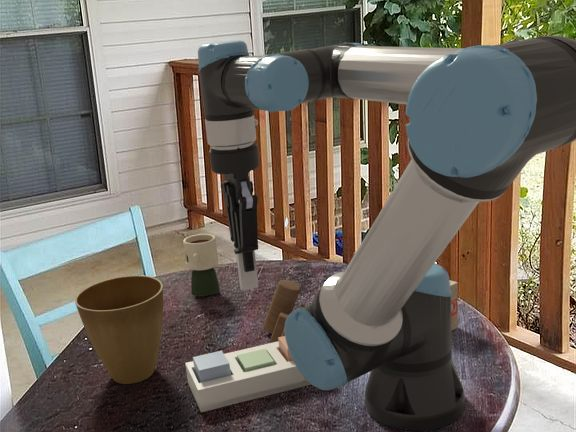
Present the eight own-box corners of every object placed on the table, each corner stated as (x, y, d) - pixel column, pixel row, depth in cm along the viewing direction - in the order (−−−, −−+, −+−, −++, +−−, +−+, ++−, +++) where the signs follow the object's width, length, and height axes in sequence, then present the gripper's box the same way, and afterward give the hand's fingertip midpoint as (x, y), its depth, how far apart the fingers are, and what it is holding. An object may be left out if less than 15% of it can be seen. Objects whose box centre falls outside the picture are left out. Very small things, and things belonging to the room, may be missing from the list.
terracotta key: (317, 361, 125) (315, 342, 124) (289, 368, 123) (287, 349, 122) (306, 349, 129) (305, 331, 128) (279, 355, 128) (278, 337, 127)
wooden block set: (297, 371, 132) (316, 324, 129) (252, 354, 132) (269, 307, 129) (309, 324, 149) (325, 281, 145) (268, 309, 149) (284, 266, 146)
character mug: (195, 284, 170) (189, 231, 166) (226, 283, 169) (220, 230, 165) (184, 304, 160) (177, 247, 156) (216, 303, 159) (209, 246, 155)
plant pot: (109, 354, 140) (96, 275, 135) (184, 354, 137) (173, 274, 132) (75, 396, 125) (59, 309, 121) (158, 397, 123) (145, 309, 118)
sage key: (275, 379, 123) (274, 361, 122) (247, 387, 122) (245, 368, 121) (266, 366, 128) (265, 348, 127) (239, 373, 126) (237, 355, 125)
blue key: (231, 382, 120) (229, 363, 119) (201, 389, 119) (199, 370, 118) (224, 369, 125) (221, 350, 124) (195, 376, 124) (192, 357, 123)
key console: (329, 379, 124) (327, 358, 122) (201, 412, 117) (198, 390, 116) (308, 354, 133) (306, 334, 132) (188, 383, 126) (185, 362, 125)
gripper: (269, 147, 108) (284, 296, 115) (244, 135, 120) (259, 271, 127) (219, 155, 106) (237, 306, 113) (199, 142, 118) (217, 279, 124)
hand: (249, 287), depth 120 cm, fingers closed
